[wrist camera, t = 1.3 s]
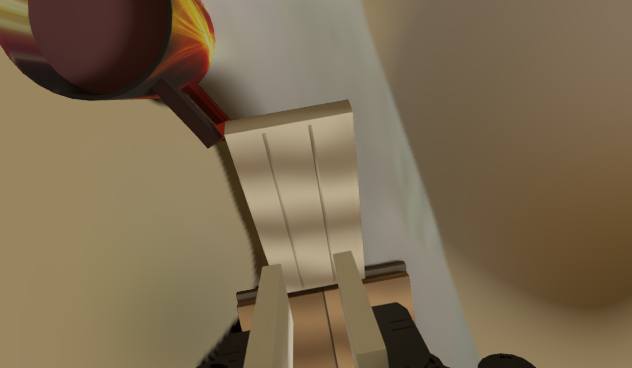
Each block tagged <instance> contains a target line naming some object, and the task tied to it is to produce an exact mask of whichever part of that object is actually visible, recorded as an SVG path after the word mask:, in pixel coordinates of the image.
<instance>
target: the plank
mask: <svg viewBox="0 0 632 368" xmlns="http://www.w3.org/2000/svg"><path fill="white" fill-rule="evenodd" d="M224 136H225V139H226V142H227V144H228V147H229V150H230V153H231V156H232V159H233V162H234V165H235V168H236V171H237V174H238V177H239V180H240V182H241V185H242V188H243V191H244V194H245V197H246V200H247V203H248V206H249V209H250V212H251V215H252V218H253V220H254V223H255V226H256V229H257V232H258V235H259V238H260V241H261V244H262V247H263V250H264V253H265V255H266V258H267V261H268V264H269V266H270V265H275V264H280V263H281V266H282V271H283V276H284V281H285V286H286V290H287V293H290V292H295V291H301V290H306V289H311V288H317V287H322V286H328V285H333V284H338V281H337V275H336V270H335V264H334V258H333V254H335V253H340V252H346V251H351V252H352V254H353V257H354V260H355V263H356V266H357V268H358V271H359V274H360V277H361V279H365V269H364V255H363V242H362V229H361V216H360V202H359V189H358V176H357V162H356V149H355V136H354V122H353V111H352V109H351V106H350V103H349V100H343V101H337V102H332V103H326V104H320V105H315V106H309V107H304V108H298V109H293V110H287V111H281V112H276V113H270V114H265V115H259V116H253V117H248V118H242V119H237V120H231V121H226V122H225V132H224Z"/></svg>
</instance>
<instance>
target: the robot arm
mask: <svg viewBox="0 0 632 368" xmlns="http://www.w3.org/2000/svg"><path fill="white" fill-rule="evenodd" d="M333 258H334V264H335V270H336V275H337V281H338V287H339V292H340V298H341V304H342V309H343V315H344V319H345V324H346V328H347V333H348V338H349V342H350V347H351V351H352V356H353V360H354V365H355V368H449V367H446V366H444V365H443V363H442V362H441V361H440V359H439V358H438V357H436V356H434V355H433V354H431V353H430V352H429V350H428V348H427V346H426V344H425V342H424V340H423V338H422V336H421V334H420V333H419V331H418V329H417V327H416V325H415V323H414V321H413V320H412V317H411V315H410V313H409V311H408V309H407V308H405V307H404V306H402V305H401V304H399V303H398V302H394V303H388V304H383V305H377V306H372V307H371V305H370V302H369V299H368V296H367V294H366V291H365V288H364V285H363V282H362V280H361V277H360V274H359V271H358V268H357V266H356V263H355V260H354V257H353V254H352V252H351V251H346V252H340V253H335V254H333ZM197 368H293V319H292V314H291V310H290V305H289V300H288V295H287V290H286V286H285V281H284V276H283V271H282V266H281V263H280V264H275V265H270V266H264V267H262V272H261V277H260V282H259V288H258V293H257V298H256V303H255V309H254V314H253V319H252V324H251V330H248V331H243V332H238V333H232V334H229V335H228V336H227V337H226V338H225V340H224V341H223V342H222V343H221V344H220V347H219V351H218V354H217V358H216V361H210V362H207V363H205V364H202V365H200V366H198V367H197ZM478 368H536V367H534V365H532V364H531V363H529V362H528V361H526V360H525V359H523V358H521V357H518V356H515V355H512V354H502V353H500V354H493V355H490V356H487V357H485V358H483V359H482V360H481V361H480V363H479V364H478Z"/></svg>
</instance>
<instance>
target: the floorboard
mask: <svg viewBox="0 0 632 368" xmlns="http://www.w3.org/2000/svg"><path fill="white" fill-rule="evenodd" d="M361 280H362V282H363V285H364V288H365V291H366V294H367V296H368V299H369V302H370V305H371V307H372V306H377V305H383V304H388V303H394V302H398V303H399V304H401V305H402V306H404V307H405V308H407V309H408V311H409V313H410V315H411V317H412V320H413V321H414V323H415V316H414V309H413V301H412V294H411V286H410V279H409V275H408V273H407V272H406V264H405V263H404V261H403V262H398V263H392V264H387V265H382V266H376V267H371V268H365V279H361ZM257 293H258V288H257V289H251V290H246V291H240V292H237V294H236V297H237V301H238V305H237V311H238V316H239V320H240V324H241V328H242V332H243V331H248V330H251V324H252V319H253V314H254V309H255V303H256V298H257ZM287 295H288V300H289V305H290V310H291V314H292V319H293V368H355V365H354V360H353V356H352V351H351V347H350V342H349V338H348V333H347V328H346V324H345V319H344V315H343V309H342V304H341V298H340V292H339V287H338V284H333V285H328V286H322V287H317V288H311V289H306V290H301V291H295V292H290V293H287ZM415 325H416V324H415Z"/></svg>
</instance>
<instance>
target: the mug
mask: <svg viewBox="0 0 632 368" xmlns="http://www.w3.org/2000/svg"><path fill="white" fill-rule="evenodd" d="M0 45H1V46H2V48H3V50H4V51H5V53H6V54H7V56H8V57H9V59H10V60H11V61H12V62H13V63H14V64H15V65H16V66H17V67H18V68H19V69H20V71H21V72H22V73H23V74H25V75H26V76H28V77H29V78H30V79H31V80H33V81H34V82H35V83H37V84H38V85H40V86H42V87H44V88H46V89H47V90H50V91H51V92H53V93H56V94H59V95H62V96H65V97H68V98H71V99H80V100H88V101H94V100H126V99H159V98H161V99H162V100H163V101H164V102H165V103H166V104H167V106H168V107H169V108H170V109H171V110H172V111H173V112H174V113H175V114H176V115H177V116H178V117H179V118H180V119H181V120H182V121H183V122H184V123H185V124H186V125H187V126H188V127H189V128H190V129H191V131H192V132H193V133H194V134H195V135H196V136H197V137H198V138H199V139H200V140H201V141H202V143H203V144H204V145H205V146H206V147H207V148H210V147H211V146H213V145H215V144H216V143H218V142H219V141H221V140H222V141H224V140H225V136H224V132H225V122H226V121H231V119H230V118H229V117H228V116H227V115H226V114H225V113H224V112H223V110H222V109H221V108H220V107H219V106H218V105H217V104H216V103H215V102H214V101H213V100H212V99H211V98H210V96H209V95H208V94H207V93H206V92H205V91H204V90H203V89H202V88H201V87H200V86H199V85H198V83H199V82H200V81H201V79H202V78H203V77H204V76H205V74H206V73H207V71H208V69H209V67H210V65H211V62H212V59H213V55H214V48H215V36H214V28H213V25H212V22H211V18H210V16H209V14H208V12H207V10H206V8H205V6H204V5H203V3H202V2H201V1H200V0H0ZM185 92H186V93H187V95H188V96H189V97H190V98H191V99H192V100H193V101H194V102H195V103H196V104H197V105H198V106H199V107H200V108H201V109H202V110H203V112H204V113H205V114H206V115H207V116H208V117H209V118H210V119H211V120H212V121H213V122H214V123H215V124H216V125H215V126H214V125H213V124H212V123H211V122H210V121H209V120H208V119H207V118H206V117H205V116H204V114H203V113H202V112H201V111H200V110H199V109H198V108H197V107H196V106H195V105H194V104H193V103H192V102H191V101H190V100H189V99H188V98H187V96H186V95H185V94H184V93H185Z"/></svg>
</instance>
